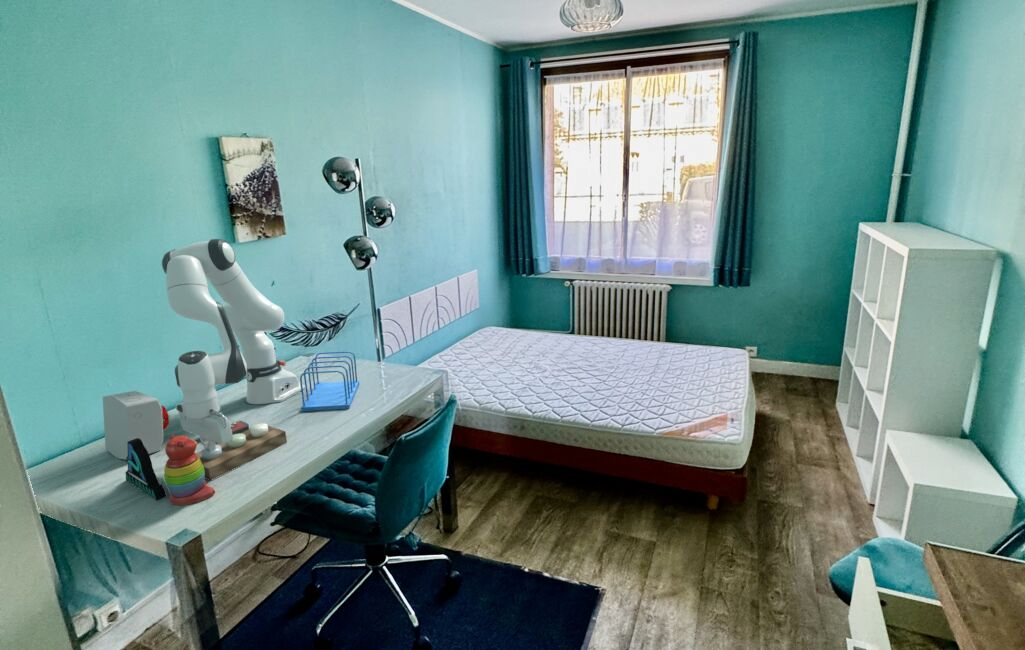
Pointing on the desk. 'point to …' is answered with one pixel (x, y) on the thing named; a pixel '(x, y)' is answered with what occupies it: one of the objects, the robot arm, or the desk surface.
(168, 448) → the stacking bear
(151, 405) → the electrical switch box
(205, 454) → the grey knob
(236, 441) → the sage knob
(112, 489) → the desk surface
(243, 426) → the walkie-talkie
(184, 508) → the desk surface
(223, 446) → the knob panel
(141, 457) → the decorative sign
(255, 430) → the cream knob
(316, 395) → the file sorter
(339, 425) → the desk surface
